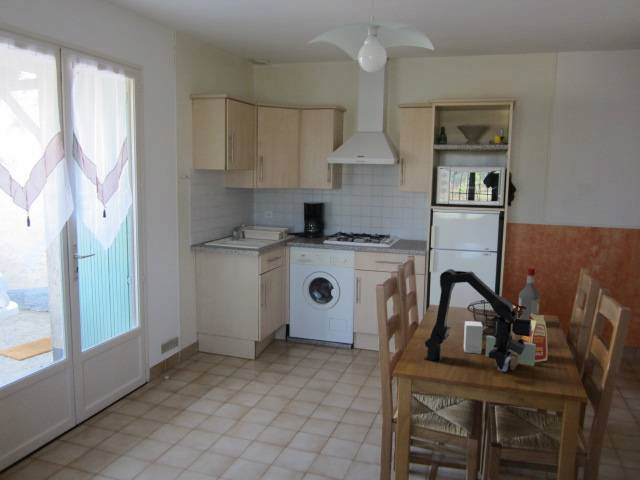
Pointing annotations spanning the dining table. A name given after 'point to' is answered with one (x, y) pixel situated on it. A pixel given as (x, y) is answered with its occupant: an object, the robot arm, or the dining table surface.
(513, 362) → the brown u-shaped bracket
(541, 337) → the milk carton
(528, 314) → the liquor
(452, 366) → the dining table surface
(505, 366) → the blue-gray block
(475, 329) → the supplement box
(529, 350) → the backstop board
